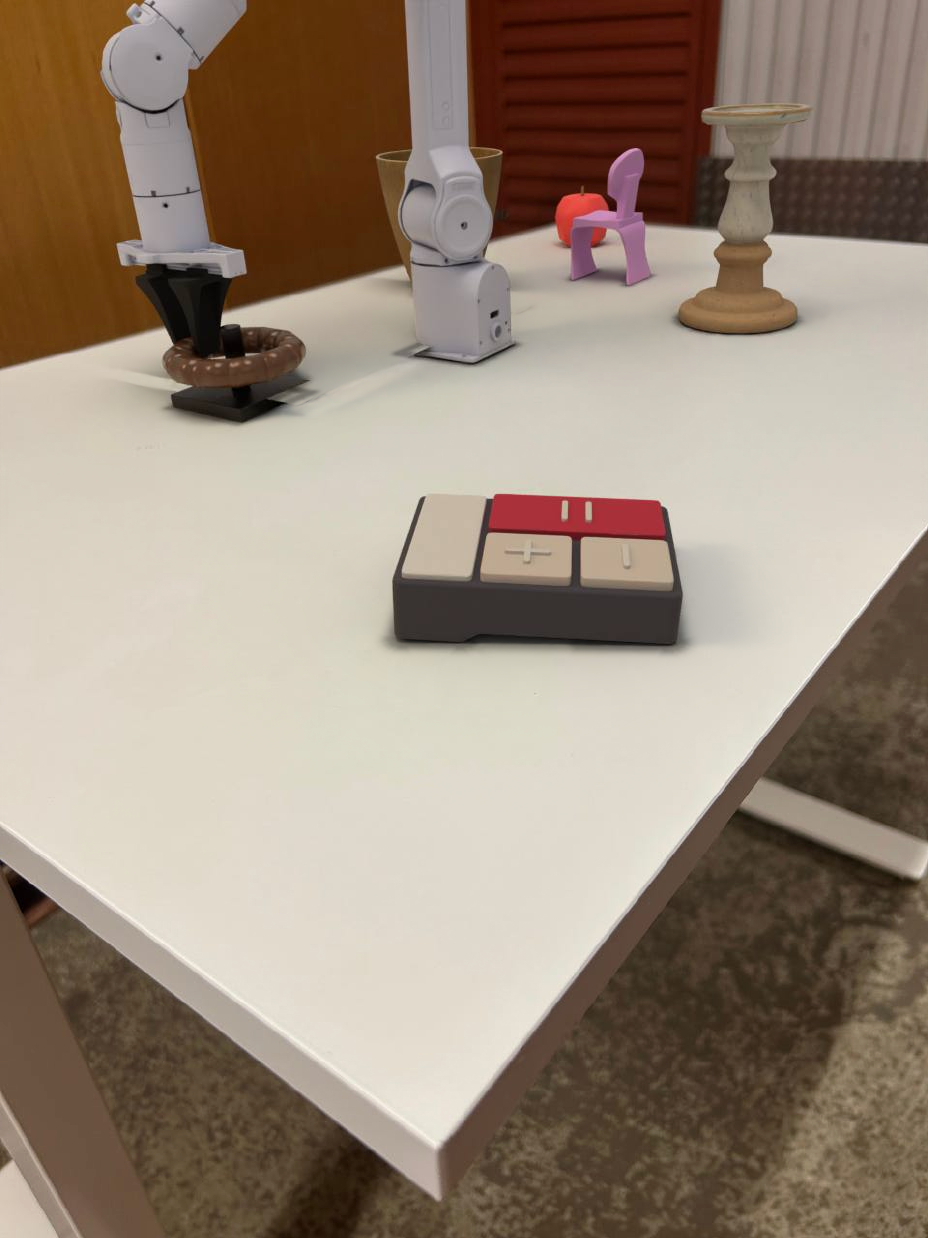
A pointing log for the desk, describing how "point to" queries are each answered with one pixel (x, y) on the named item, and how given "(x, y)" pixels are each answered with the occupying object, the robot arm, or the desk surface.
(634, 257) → the toy chair
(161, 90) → the robot arm
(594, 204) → the apple
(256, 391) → the peg stand
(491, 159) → the plant pot
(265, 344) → the ring
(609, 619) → the calculator
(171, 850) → the desk surface
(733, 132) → the candle holder
